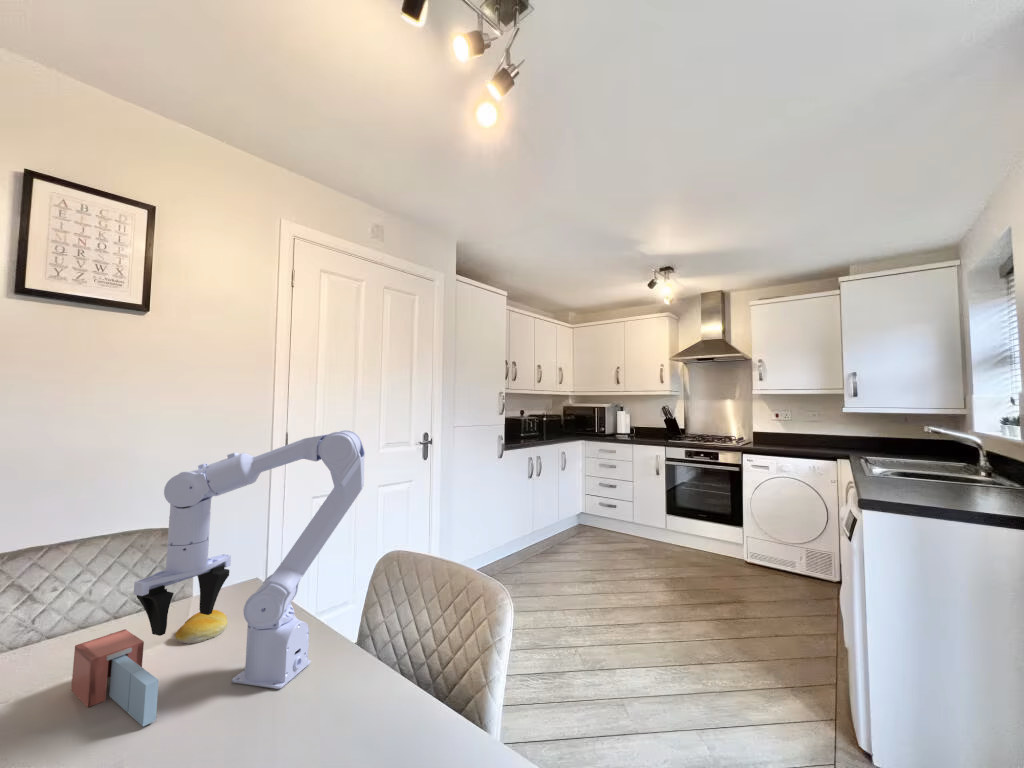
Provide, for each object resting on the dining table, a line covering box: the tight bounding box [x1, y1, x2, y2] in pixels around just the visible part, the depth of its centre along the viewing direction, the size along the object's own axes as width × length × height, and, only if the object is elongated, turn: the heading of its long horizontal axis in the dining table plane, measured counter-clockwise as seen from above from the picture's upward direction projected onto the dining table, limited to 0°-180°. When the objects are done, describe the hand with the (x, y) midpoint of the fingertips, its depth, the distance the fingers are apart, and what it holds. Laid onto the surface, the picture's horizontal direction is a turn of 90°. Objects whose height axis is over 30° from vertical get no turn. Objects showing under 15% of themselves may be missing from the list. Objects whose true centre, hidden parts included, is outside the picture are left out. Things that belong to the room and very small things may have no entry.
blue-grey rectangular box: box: [108, 655, 160, 727], centre depth 65 cm, size 13×2×6 cm, turn 59°
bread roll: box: [174, 609, 229, 645], centre depth 88 cm, size 8×9×4 cm
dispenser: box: [70, 629, 145, 708], centre depth 70 cm, size 8×6×7 cm
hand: (183, 623), depth 72 cm, fingers open, 7 cm apart
